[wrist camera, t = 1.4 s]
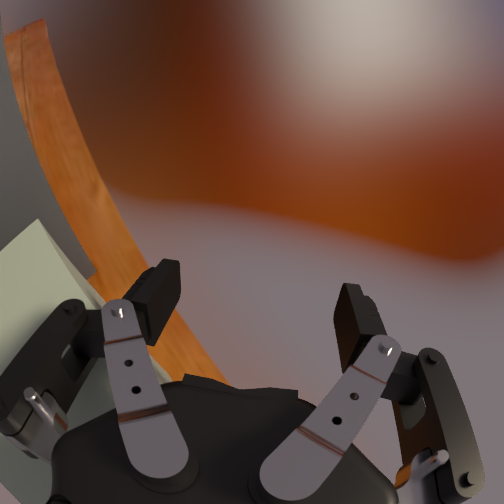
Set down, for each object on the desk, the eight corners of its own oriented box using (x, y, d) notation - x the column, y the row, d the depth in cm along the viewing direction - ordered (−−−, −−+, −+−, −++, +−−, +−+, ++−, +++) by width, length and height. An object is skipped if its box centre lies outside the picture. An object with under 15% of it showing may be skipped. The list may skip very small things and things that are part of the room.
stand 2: (101, 432, 24) (52, 530, 5) (37, 355, 24) (-80, 350, 5) (167, 373, 30) (196, 416, 11) (101, 297, 30) (37, 218, 11)
